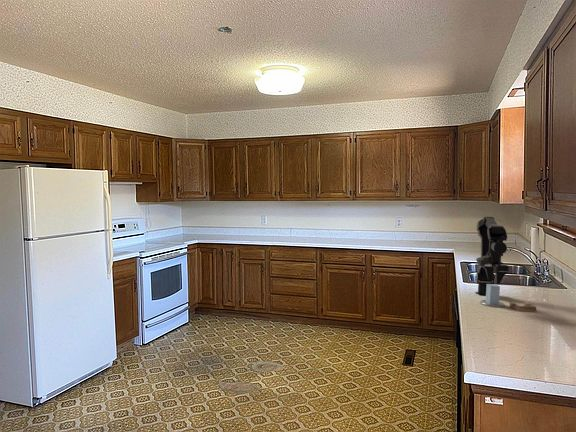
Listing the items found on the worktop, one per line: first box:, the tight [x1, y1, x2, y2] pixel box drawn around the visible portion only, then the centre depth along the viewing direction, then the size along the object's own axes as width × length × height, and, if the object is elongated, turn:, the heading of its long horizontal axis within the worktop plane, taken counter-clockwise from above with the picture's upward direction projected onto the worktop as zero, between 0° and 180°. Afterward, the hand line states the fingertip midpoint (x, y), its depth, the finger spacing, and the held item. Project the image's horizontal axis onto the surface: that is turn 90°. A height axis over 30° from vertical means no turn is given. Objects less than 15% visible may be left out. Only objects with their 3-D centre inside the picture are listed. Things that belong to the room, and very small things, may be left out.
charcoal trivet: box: [479, 299, 505, 308], centre depth 223 cm, size 11×11×1 cm
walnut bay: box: [509, 301, 537, 312], centre depth 216 cm, size 8×8×2 cm
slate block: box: [485, 283, 501, 304], centre depth 223 cm, size 4×4×9 cm
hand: (493, 282), depth 222 cm, fingers open, 9 cm apart
